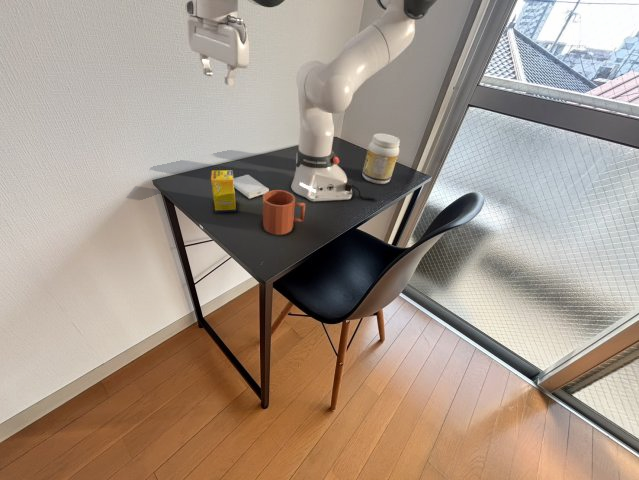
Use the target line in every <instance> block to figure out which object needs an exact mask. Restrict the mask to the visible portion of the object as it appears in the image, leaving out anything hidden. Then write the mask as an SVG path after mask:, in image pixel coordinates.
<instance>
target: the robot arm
mask: <svg viewBox="0 0 639 480" xmlns="http://www.w3.org/2000/svg"><path fill="white" fill-rule="evenodd" d="M247 1H248V2H249V3H251V4H253V5H256V6H261V7H264V8H275V7H278V6H279V5H281V4H282V3H283V2H285V1H286V0H247ZM375 1H376V3H377V5H378V6H379V7H380V8H381V9H382V10H384V12H383V14H382V15H381V16H380V17H379V19H377V20H375V21H374V22H372V23H371V24H369V25H368V26H367V27H365V28H364V29H363V30H361V31H360V32H358V33H357V34H356V35H354V36H353V37H352V38H350V39H348V41H347V42H345V44H344V46H343V49H342V50H341V51H340V52H339V53H338V55H336V57H335V58H334V59H333V60H331V61H330V62H328V63H324V62H322V61H320V60H311V61H307V62H305V63H303V64H302V65H301V66H300V67H299V68H298V70H297V73H296V75H295V76H296V77H295V78H296V79H295V80H296V81H295V82H296V86H297V96H298V112H299V113H298V114H299V138H298V147H297V148H296V154H295V155H296V156H295V165H296V166H295V172H294V176H293V179H292V182H291V185H290V188H291V190H292V191H293V192H294V193H295V194H296V195H299V196H301V197H303V198H305V199H307V200H309V201H310V202H327V201H344V200H351V198H352V197H353V189H352V188H354V189H356V190H357V191H358V195H359V197H360V198H361V199H362V200H367V201H369V200H370V201H374V200H375V197H367V196H366V197H365V196H363V195H362V191H361V189H360V188H359V187H358V186H356V185H354V184H353V181H354V179H352V178H348V177H347V174H346V172H345V171H344V170H343V169H342V168H341V167H340V166H339V163H340V159H339V157H338V156H337V154H336V153H334V151H333V150H332V149H333V143H334V136H335V124H334V121H333V115H335V114H340V113H343V112H344V111H346V109H348V107H349V106H350V104H351V103H352V101H353V96H354V94H355V93H356V91H358V89H359V88H360V87H361V86H362V85H363V83H365V82H367V80H369V78H371V77H372V76H374V75H375V74H376V73H378V72H379V71H381V70H382V69H383V68H384V67H386V66H387V65H389V64H390V63H391V62H393V61H394V60H395V59H396V58H397V57H398V56H399V55H401V54H402V53H403V52H404V51H405V50H406V49H407V48H408V47H409V46H410V45H411V43H412V42H413V40H414V38H415V34H416V25H415V22H416V21H417V20H421V19H423V18H424V17H425V16H426V15H427V13H428V12H429V9H430V8H432V7H433V5H435V3H436V2H437V1H438V0H375ZM238 7H239V0H187V1H186V2H185V3H184V8H185V9H184V10H185V13H186V14H187V15H188V16H187V22H186V23H187V26H186V28H187V38H188V44H189V47H190V50H191V51H192V52H195V53H197V54H199V60H200V63H201V66H202V73H203V75H204V76H206V77H213V68H211V64H210V61H211V59H213V60H216V61H218V62H221V63H224V64H226V69H227V70H228V71H227V74H226V75H224V84H225V85H227V86H229V87H234V85H235V78H236V76H237V74H238V71H239V69H247V68H248V67H249V65H250V42H249V35H248V29H247V26H246V23H245V22H244V20H243V19H242V18H241V17H238V16H239V15H238V13H239V10H238V9H239V8H238Z"/></svg>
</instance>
